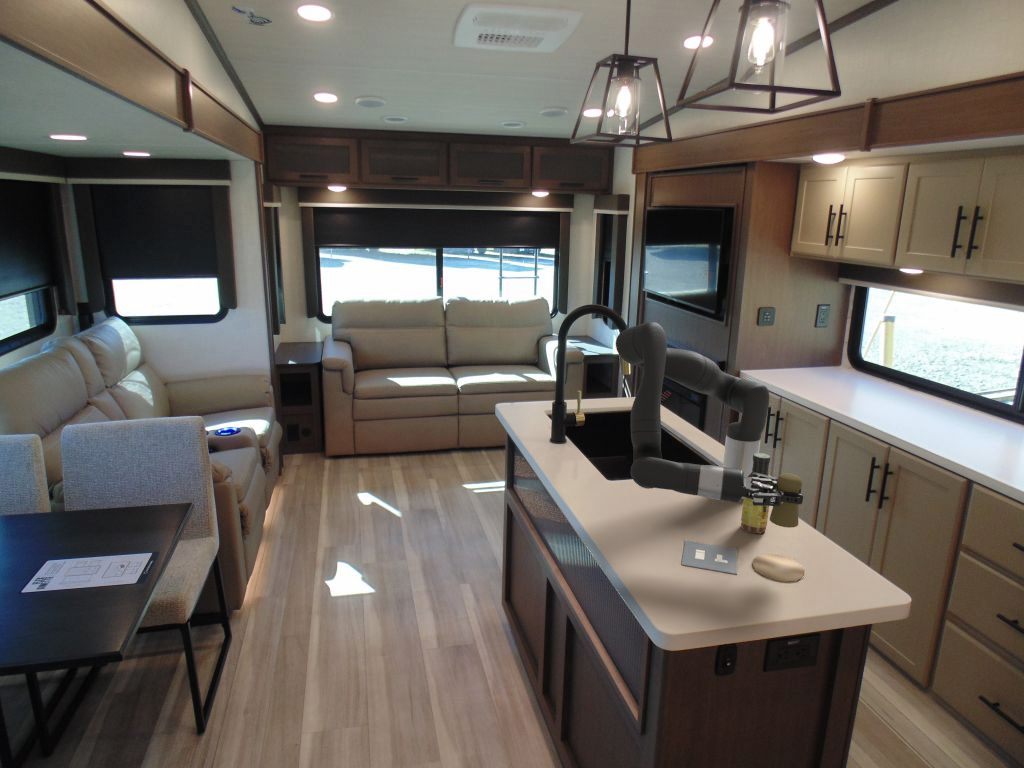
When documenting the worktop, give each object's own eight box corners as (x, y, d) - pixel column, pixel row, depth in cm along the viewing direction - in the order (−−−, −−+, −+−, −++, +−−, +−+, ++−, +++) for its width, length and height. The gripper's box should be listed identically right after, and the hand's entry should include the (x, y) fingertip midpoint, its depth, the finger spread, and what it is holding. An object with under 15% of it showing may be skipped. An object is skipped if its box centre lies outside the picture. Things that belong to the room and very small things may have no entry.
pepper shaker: (802, 528, 146) (810, 481, 143) (774, 527, 146) (781, 480, 144) (792, 515, 152) (799, 470, 149) (765, 514, 152) (771, 469, 149)
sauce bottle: (764, 536, 167) (774, 462, 162) (738, 531, 170) (747, 457, 165) (767, 526, 173) (776, 453, 168) (741, 521, 175) (750, 449, 170)
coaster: (752, 553, 159) (752, 550, 159) (802, 561, 156) (802, 558, 156) (753, 576, 149) (753, 573, 149) (806, 585, 146) (806, 583, 145)
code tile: (685, 541, 164) (685, 540, 164) (736, 549, 160) (736, 548, 160) (681, 565, 153) (681, 564, 153) (736, 574, 149) (736, 573, 149)
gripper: (721, 479, 144) (807, 491, 139) (722, 457, 157) (801, 467, 152) (717, 511, 146) (802, 524, 141) (719, 486, 159) (796, 498, 154)
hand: (801, 495), depth 147 cm, fingers closed on pepper shaker, 4 cm apart
